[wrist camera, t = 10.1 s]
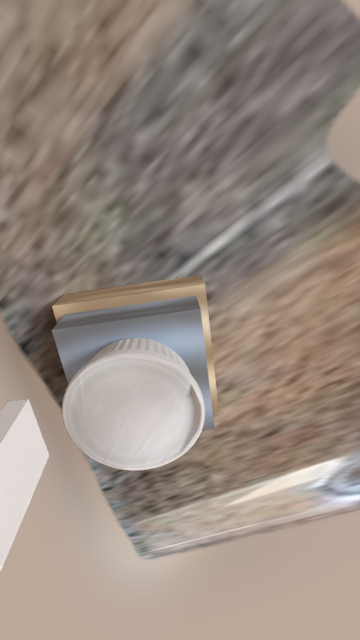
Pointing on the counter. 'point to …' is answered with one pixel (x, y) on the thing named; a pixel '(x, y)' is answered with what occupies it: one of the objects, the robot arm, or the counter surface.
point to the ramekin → (134, 406)
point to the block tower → (140, 326)
